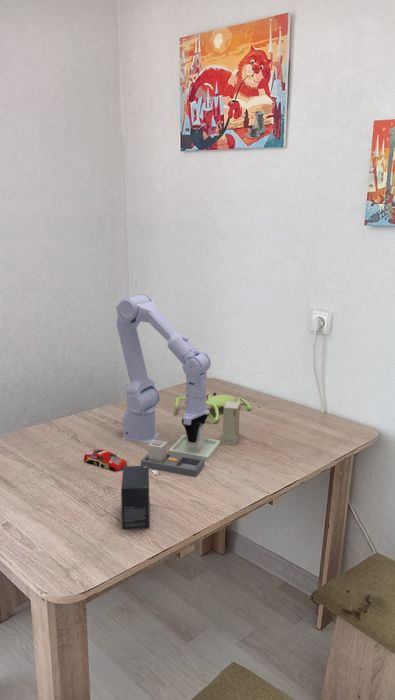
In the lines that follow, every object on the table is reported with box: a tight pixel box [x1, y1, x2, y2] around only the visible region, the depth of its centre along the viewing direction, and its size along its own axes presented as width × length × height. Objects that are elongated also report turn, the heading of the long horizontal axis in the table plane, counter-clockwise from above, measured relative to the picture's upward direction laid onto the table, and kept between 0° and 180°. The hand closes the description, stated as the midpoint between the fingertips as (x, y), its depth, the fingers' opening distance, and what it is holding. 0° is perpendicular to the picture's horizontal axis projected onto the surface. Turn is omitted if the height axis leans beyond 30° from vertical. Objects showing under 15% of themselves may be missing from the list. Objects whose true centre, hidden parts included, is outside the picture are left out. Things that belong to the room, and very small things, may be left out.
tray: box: [167, 434, 222, 462], centre depth 165 cm, size 12×12×2 cm
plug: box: [185, 424, 205, 448], centre depth 164 cm, size 4×4×6 cm
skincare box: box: [221, 401, 241, 446], centre depth 170 cm, size 6×4×12 cm
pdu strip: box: [140, 452, 206, 478], centre depth 154 cm, size 16×7×3 cm, turn 70°
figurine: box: [173, 392, 252, 425], centre depth 197 cm, size 18×27×6 cm
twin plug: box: [147, 439, 168, 463], centre depth 155 cm, size 4×4×6 cm
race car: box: [83, 449, 128, 473], centre depth 155 cm, size 13×5×4 cm, turn 59°
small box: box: [120, 465, 151, 530], centre depth 130 cm, size 11×6×10 cm, turn 5°
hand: (194, 438), depth 164 cm, fingers closed on plug, 4 cm apart
